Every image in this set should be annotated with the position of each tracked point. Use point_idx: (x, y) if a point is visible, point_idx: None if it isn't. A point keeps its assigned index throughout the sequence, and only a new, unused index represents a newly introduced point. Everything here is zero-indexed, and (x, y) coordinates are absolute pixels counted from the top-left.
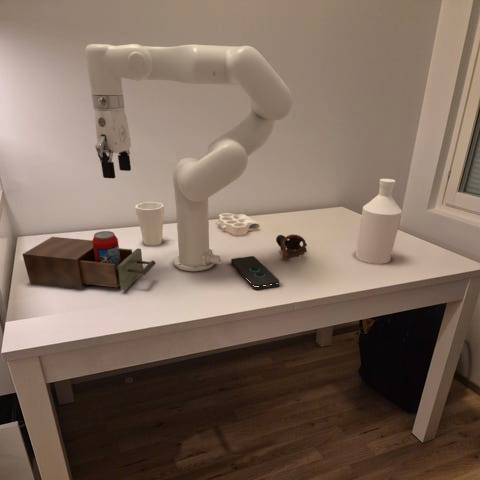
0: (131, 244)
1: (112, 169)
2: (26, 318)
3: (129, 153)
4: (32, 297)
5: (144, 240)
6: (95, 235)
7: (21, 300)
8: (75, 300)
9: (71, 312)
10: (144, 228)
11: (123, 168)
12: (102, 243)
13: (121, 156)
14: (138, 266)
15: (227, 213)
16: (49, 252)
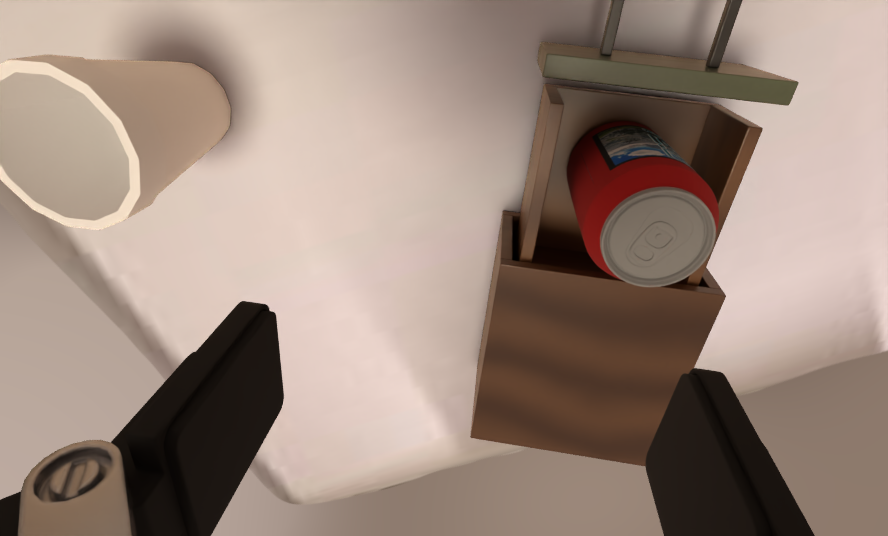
0: (245, 189)
1: (758, 462)
2: (876, 321)
3: (56, 458)
4: (725, 352)
5: (218, 138)
6: (654, 279)
7: (743, 371)
8: (770, 228)
9: (868, 210)
10: (195, 144)
11: (271, 381)
12: (717, 222)
13: (196, 510)
14: (593, 51)
15: None
16: (637, 401)
